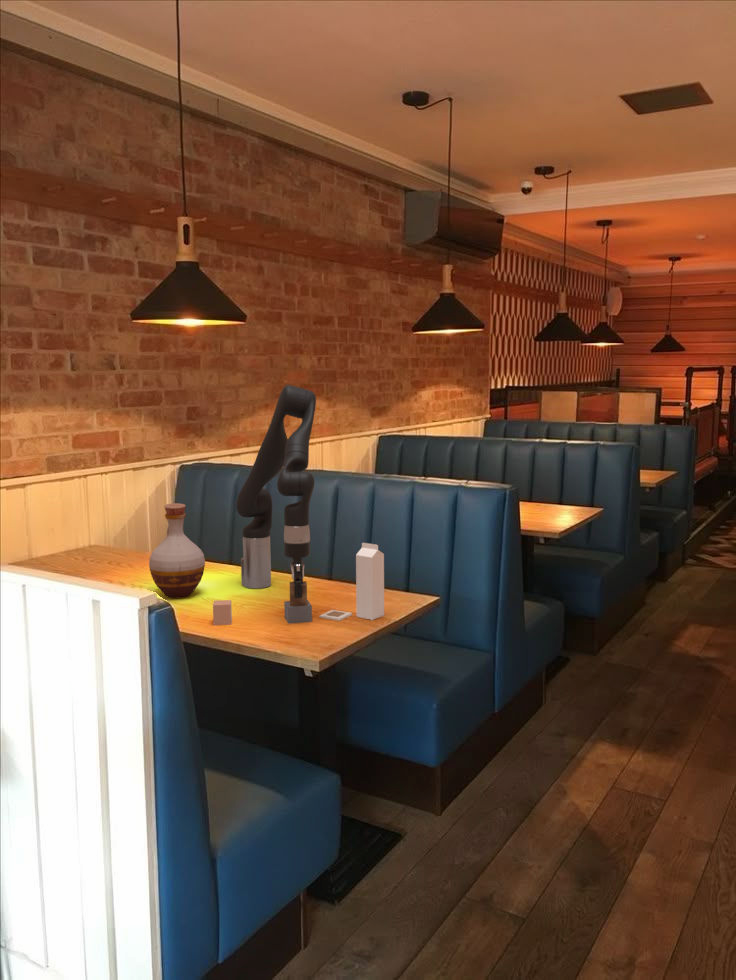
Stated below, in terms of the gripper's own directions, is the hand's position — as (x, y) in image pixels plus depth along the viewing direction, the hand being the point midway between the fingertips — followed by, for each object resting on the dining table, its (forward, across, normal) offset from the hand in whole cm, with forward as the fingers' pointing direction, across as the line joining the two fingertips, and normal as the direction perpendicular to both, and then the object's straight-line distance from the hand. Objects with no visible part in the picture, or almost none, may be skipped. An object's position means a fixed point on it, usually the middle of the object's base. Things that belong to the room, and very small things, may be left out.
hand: (297, 594), depth 244 cm
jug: (+8, +34, +38) cm, 52 cm away
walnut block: (+3, 0, 0) cm, 3 cm away
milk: (+8, 0, -21) cm, 23 cm away
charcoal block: (+8, 0, 0) cm, 8 cm away
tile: (+8, +2, -11) cm, 14 cm away
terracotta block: (+8, 0, +22) cm, 23 cm away
